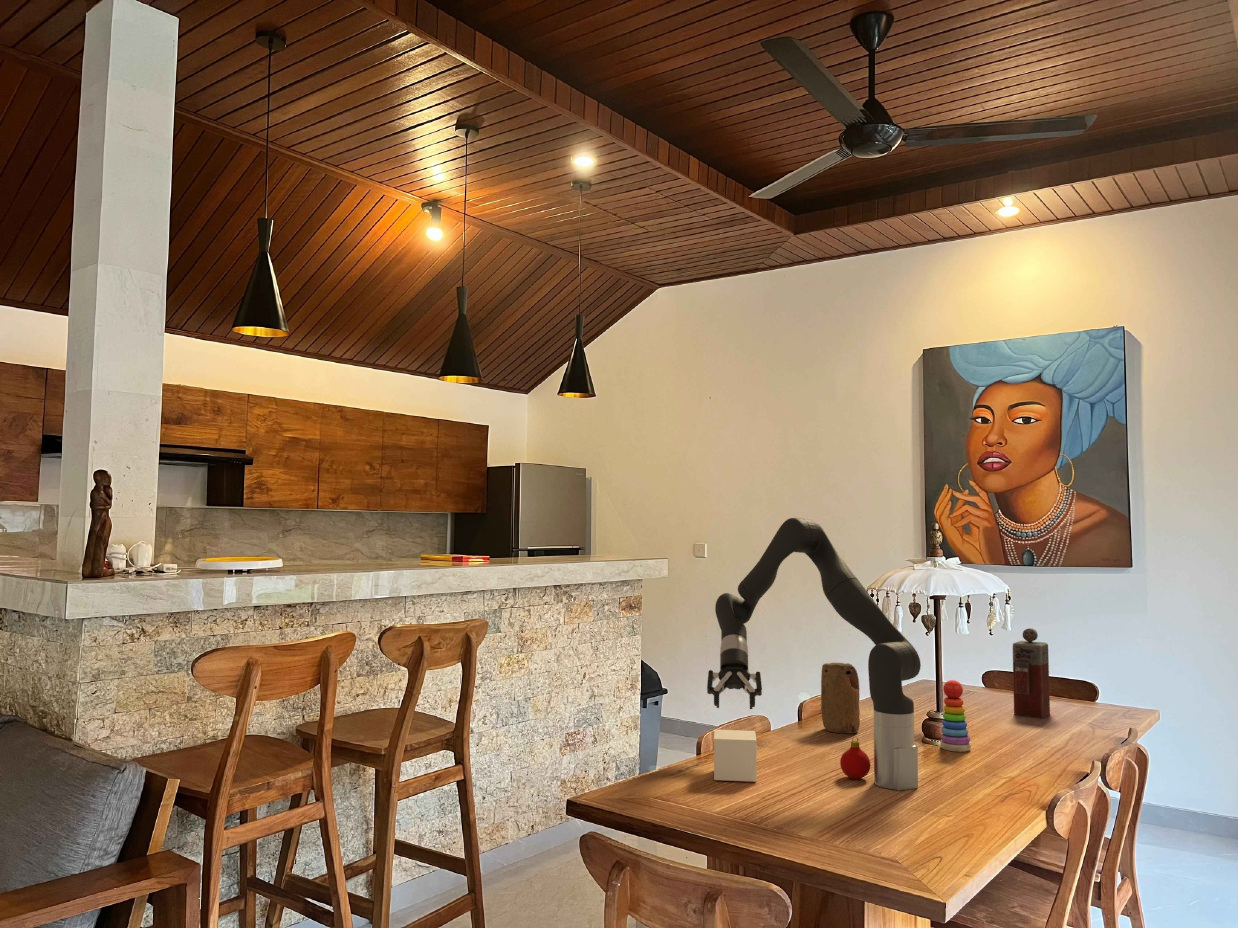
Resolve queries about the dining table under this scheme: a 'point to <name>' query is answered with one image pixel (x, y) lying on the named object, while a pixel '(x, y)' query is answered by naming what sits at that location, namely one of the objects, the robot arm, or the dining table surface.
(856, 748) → the christmas ornament
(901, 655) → the robot arm
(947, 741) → the stacking toy
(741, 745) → the plain beige cube
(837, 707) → the block
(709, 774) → the dining table surface
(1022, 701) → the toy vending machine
